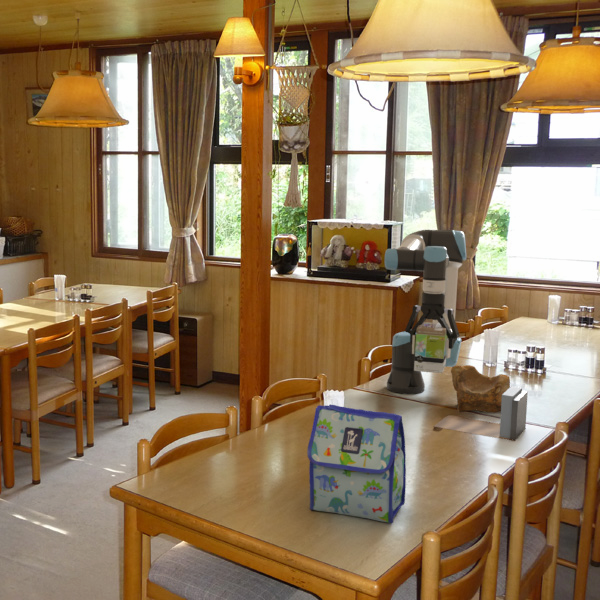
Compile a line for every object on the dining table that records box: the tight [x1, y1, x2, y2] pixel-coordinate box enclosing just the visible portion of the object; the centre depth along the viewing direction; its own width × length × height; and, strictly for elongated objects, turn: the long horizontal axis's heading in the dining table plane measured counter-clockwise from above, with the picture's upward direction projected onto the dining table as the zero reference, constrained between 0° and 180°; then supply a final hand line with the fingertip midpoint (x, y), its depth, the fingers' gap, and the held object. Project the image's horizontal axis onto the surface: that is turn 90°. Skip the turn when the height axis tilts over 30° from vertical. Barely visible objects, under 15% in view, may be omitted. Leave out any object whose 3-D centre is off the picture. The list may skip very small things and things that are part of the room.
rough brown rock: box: [450, 364, 511, 414], centre depth 268 cm, size 23×17×15 cm
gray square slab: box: [510, 389, 529, 441], centre depth 239 cm, size 2×13×13 cm, turn 150°
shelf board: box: [433, 414, 527, 442], centre depth 247 cm, size 27×15×1 cm, turn 60°
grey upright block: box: [499, 385, 523, 439], centre depth 240 cm, size 4×12×14 cm, turn 150°
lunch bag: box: [306, 404, 407, 524], centre depth 182 cm, size 22×17×26 cm
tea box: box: [414, 321, 448, 374], centre depth 251 cm, size 15×10×15 cm
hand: (430, 355), depth 251 cm, fingers closed on tea box, 11 cm apart
